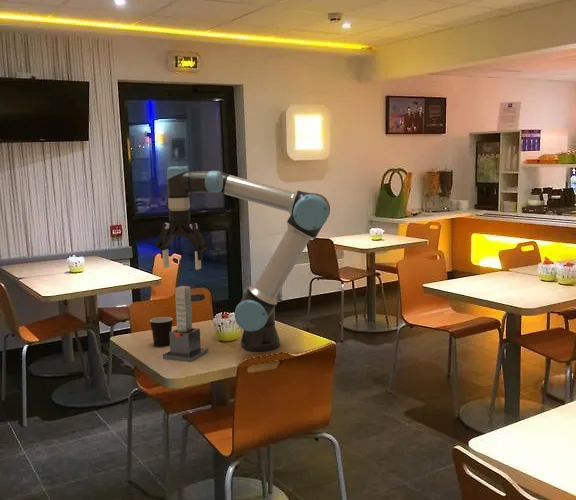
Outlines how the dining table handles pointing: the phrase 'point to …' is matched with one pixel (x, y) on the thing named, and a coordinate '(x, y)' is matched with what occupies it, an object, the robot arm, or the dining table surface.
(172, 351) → the stand base
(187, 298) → the column
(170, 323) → the coffee mug
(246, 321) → the robot arm
